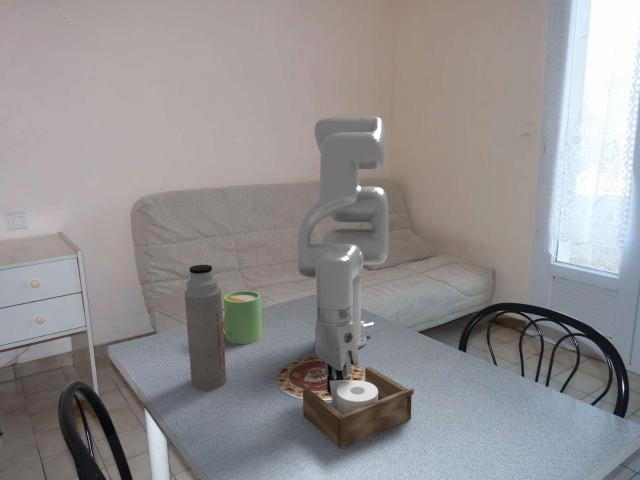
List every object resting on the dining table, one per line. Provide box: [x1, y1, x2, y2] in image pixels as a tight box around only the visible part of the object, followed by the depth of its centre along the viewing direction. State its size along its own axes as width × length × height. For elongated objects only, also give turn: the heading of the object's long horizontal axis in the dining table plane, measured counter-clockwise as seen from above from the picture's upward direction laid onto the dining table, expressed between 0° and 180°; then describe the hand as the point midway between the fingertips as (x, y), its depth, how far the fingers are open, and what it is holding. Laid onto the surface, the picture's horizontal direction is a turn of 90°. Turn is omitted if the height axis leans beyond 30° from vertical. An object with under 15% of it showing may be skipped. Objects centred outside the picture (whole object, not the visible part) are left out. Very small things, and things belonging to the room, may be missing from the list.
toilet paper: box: [329, 379, 378, 415], centre depth 102 cm, size 8×11×7 cm
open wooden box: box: [302, 366, 415, 450], centre depth 102 cm, size 17×14×7 cm
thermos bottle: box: [184, 264, 227, 392], centre depth 116 cm, size 8×8×28 cm
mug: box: [222, 290, 263, 345], centre depth 142 cm, size 13×10×12 cm
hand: (335, 392), depth 109 cm, fingers closed
